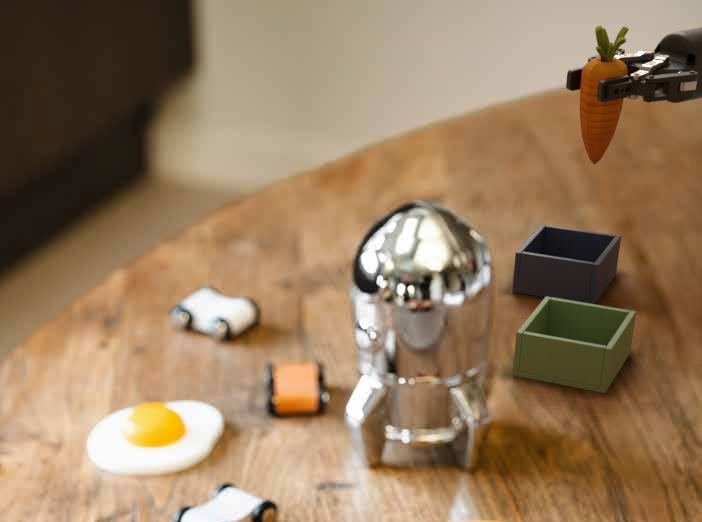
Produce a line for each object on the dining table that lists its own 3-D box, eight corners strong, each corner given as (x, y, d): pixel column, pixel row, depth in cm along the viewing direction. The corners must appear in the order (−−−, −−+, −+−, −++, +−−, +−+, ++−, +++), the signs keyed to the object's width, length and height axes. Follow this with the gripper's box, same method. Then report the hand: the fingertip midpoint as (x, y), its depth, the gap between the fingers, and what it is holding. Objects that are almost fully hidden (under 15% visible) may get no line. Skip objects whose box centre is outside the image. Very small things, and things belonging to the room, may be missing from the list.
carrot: (614, 156, 141) (631, 18, 132) (618, 170, 137) (635, 28, 128) (571, 156, 141) (584, 19, 132) (574, 170, 138) (587, 29, 128)
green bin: (630, 353, 121) (636, 311, 118) (605, 393, 114) (611, 349, 112) (541, 337, 124) (545, 296, 122) (512, 375, 118) (516, 332, 115)
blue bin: (616, 274, 137) (621, 235, 134) (593, 305, 130) (598, 265, 127) (537, 262, 140) (541, 223, 137) (512, 292, 134) (515, 252, 131)
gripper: (666, 15, 141) (547, 37, 136) (755, 39, 131) (630, 63, 125) (657, 82, 146) (542, 106, 140) (742, 110, 136) (621, 137, 130)
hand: (584, 86), depth 133 cm, fingers closed on carrot, 5 cm apart
